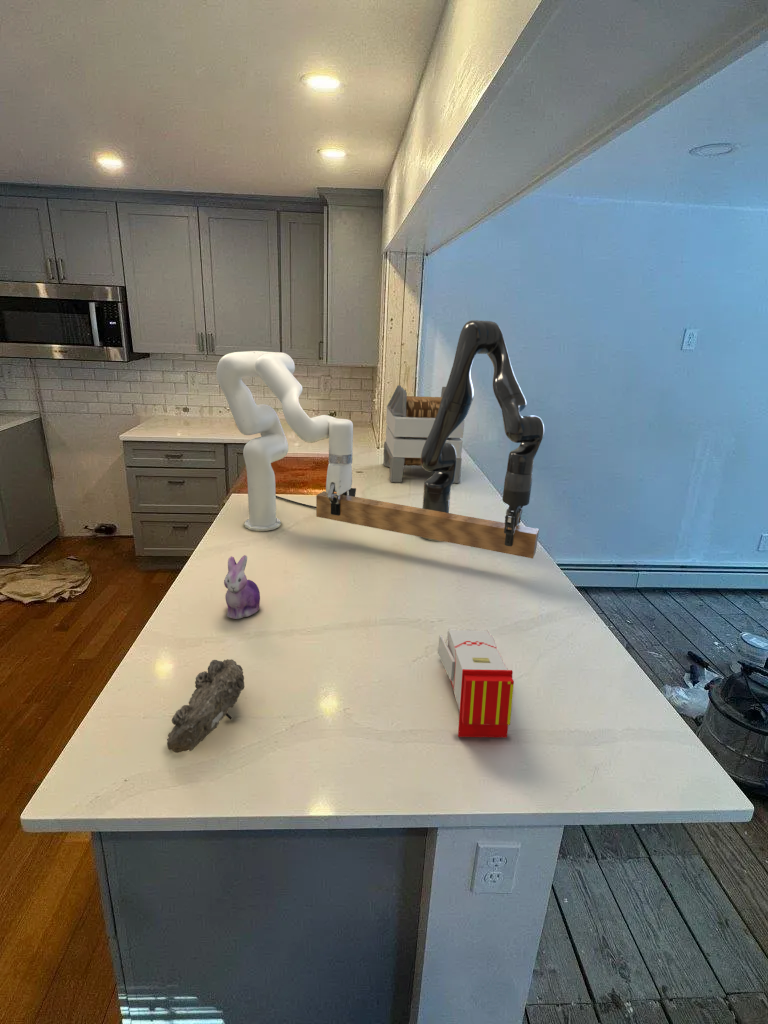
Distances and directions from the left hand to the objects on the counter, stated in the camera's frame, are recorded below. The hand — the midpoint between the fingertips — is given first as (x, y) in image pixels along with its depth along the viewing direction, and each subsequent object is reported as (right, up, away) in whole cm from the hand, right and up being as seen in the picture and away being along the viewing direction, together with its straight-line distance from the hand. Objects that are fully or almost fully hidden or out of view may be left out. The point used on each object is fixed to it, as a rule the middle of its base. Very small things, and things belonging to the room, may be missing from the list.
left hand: (339, 511), depth 186 cm
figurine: (-21, -26, -41) cm, 53 cm away
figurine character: (0, 0, +34) cm, 34 cm away
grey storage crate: (+32, +19, +89) cm, 96 cm away
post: (+26, -7, -9) cm, 28 cm away
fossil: (-18, -39, -78) cm, 89 cm away
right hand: (+52, -9, -20) cm, 56 cm away
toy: (+33, -38, -68) cm, 84 cm away
